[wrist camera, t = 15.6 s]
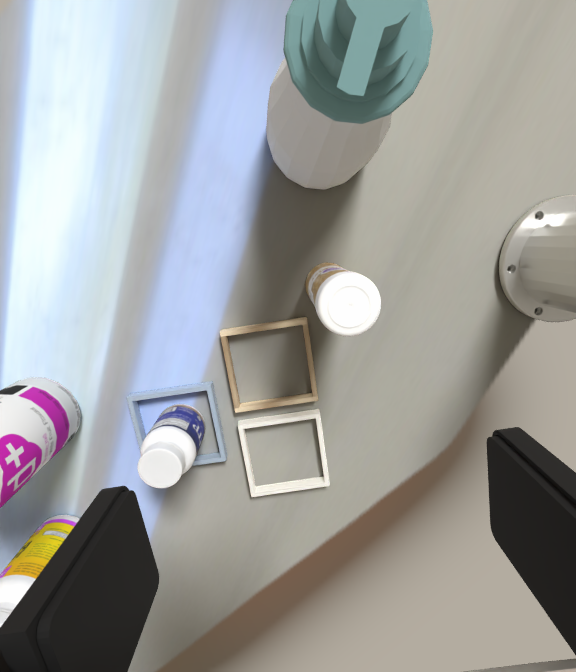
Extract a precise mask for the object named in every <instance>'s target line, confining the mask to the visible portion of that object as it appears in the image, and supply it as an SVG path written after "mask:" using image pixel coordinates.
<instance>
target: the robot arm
mask: <svg viewBox="0 0 576 672" xmlns="http://www.w3.org/2000/svg"><path fill="white" fill-rule="evenodd" d="M508 267H509V269H508ZM507 269H508V270H507ZM499 276H500V282H501V285H502V288H503V291H504V293H505V295H506V297H507V298H508V300H509V301H510V303H511V304H512V305H513V306H514V307H515V308H516V309H517V310H519V311H520V312H522V313H523V314H525V315H527V316H529V317H532V318H535V319H538V320H542V321H547V322H562V321H569V320H573V319H575V318H576V195H565V196H560V197H555V198H552V199H549V200H546V201H543V202H541V203H540V204H538V205H536V206H534V207H533V208H531V209H530V210H529V211H528V212H526V213H525V214H524V215H523V216H522V217H521V218H520V219H519V220H518V221H517V222H516V224H515V225H514V226H513V227H512V229H511V231H510V232H509V234H508V236H507V237H506V240H505V242H504V245H503V247H502V251H501V255H500V260H499ZM487 459H488V480H489V501H490V502H489V503H490V524H491V530H492V533H493V536H494V538H495V540H496V541H497V543H498V544H499V546H500V547H501V549H502V550H503V552H504V553H505V554H506V556H507V557H508V559H509V560H510V562H511V563H512V564H513V566H514V567H515V569H516V570H517V572H518V573H519V574H520V576H521V577H522V579H523V580H524V582H525V583H526V585H527V586H528V587H529V589H530V590H531V592H532V593H533V594H534V596H535V597H536V599H537V600H538V602H539V603H540V605H541V606H542V607H543V608H544V610H545V611H546V613H547V614H548V616H549V617H550V619H551V620H552V622H553V623H554V625H555V626H556V628H557V629H558V630H559V632H560V633H561V635H562V636H563V637H564V639H565V640H566V642H567V643H568V645H569V646H570V647H571V649H572V650H573V652H574V653H575V655H576V473H575V472H574V471H573V470H572V469H570V468H569V467H568V466H567V465H565V464H564V463H563V462H562V461H561V460H559V459H558V458H557V457H556V456H554V455H553V454H552V453H551V452H549V451H548V450H547V449H546V448H544V447H543V446H542V445H541V444H539V443H538V442H537V441H535V440H534V439H533V438H532V437H531V436H529V435H528V434H527V433H526V432H525V431H523V430H522V429H521V428H519V427H515V428H508V429H501V430H495V431H494V432H493V436H492V437H489V438H488V439H487ZM158 584H159V573H158V569H157V566H156V562H155V559H154V555H153V552H152V549H151V545H150V542H149V538H148V535H147V531H146V528H145V525H144V521H143V518H142V514H141V511H140V508H139V504H138V501H137V497H136V494H135V492H134V491H132V490H131V491H129V489H128V488H127V487H126V486H120V487H113V488H106V489H102V490H101V491H100V492H99V494H98V495H97V496H96V498H95V499H94V500H93V502H92V503H91V505H90V506H89V507H88V509H87V510H86V511H85V513H84V514H83V515H82V517H81V518H80V520H79V521H78V522H77V524H76V525H75V526H74V528H73V529H72V530H71V532H70V533H69V535H68V536H67V537H66V539H65V540H64V541H63V543H62V544H61V545H60V547H59V548H58V550H57V551H56V552H55V554H54V555H53V556H52V558H51V559H50V560H49V562H48V563H47V565H46V566H45V567H44V569H43V570H42V571H41V573H40V574H39V575H38V577H37V578H36V580H35V581H34V582H33V584H32V585H31V586H30V588H29V589H28V590H27V592H26V593H25V595H24V596H23V597H22V599H21V600H20V601H19V603H18V604H17V605H16V607H15V608H14V610H13V611H12V612H11V614H10V615H9V616H8V618H7V619H6V620H5V622H4V623H3V625H2V626H1V627H0V672H127V671H128V669H129V666H130V663H131V660H132V658H133V655H134V652H135V649H136V647H137V644H138V641H139V638H140V636H141V633H142V630H143V627H144V625H145V622H146V619H147V616H148V614H149V611H150V608H151V605H152V603H153V600H154V597H155V595H156V592H157V589H158ZM465 672H576V659H568V660H559V661H548V662H539V663H530V664H522V665H515V666H506V667H498V668H490V669H481V670H473V671H465Z"/></svg>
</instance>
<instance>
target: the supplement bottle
mask: <svg viewBox="0 0 576 672" xmlns="http://www.w3.org/2000/svg"><path fill="white" fill-rule="evenodd" d="M79 520H80V519H79V518H77V517H74V516H70V515H58V516H54V517H51V518H49V519H47V520H46V521H45V522H43V523H42V524H41V525H40V527H39V528H38V529H37V530H36V531H35V532H34V534H33V535H32V536H31V537H30V539H29V540H28V541H27V542H26V543H25V545H24V546H23V547H22V548H21V550H20V551H19V552H18V553H17V554H16V556H15V557H14V558H13V559H12V561H11V562H10V563H9V564H8V566H7V567H6V568H5V569H4V570H3V572H2V573H1V574H0V627H1V626H2V625H3V623H4V622H5V620H6V619H7V618H8V616H9V615H10V614H11V612H12V611H13V610H14V608H15V607H16V605H17V604H18V603H19V601H20V600H21V599H22V597H23V596H24V595H25V593H26V592H27V590H28V589H29V588H30V586H31V585H32V584H33V582H34V581H35V580H36V578H37V577H38V575H39V574H40V573H41V571H42V570H43V569H44V567H45V566H46V565H47V563H48V562H49V560H50V559H51V558H52V556H53V555H54V554H55V552H56V551H57V550H58V548H59V547H60V545H61V544H62V543H63V541H64V540H65V539H66V537H67V536H68V535H69V533H70V532H71V530H72V529H73V528H74V526H75V525H76V524H77V522H78V521H79Z"/></svg>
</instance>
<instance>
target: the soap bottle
mask: <svg viewBox="0 0 576 672" xmlns="http://www.w3.org/2000/svg"><path fill="white" fill-rule="evenodd" d="M432 35H433V28H432V23H431V18H430V13H429V8H428V3H427V0H293V1H292V4H291V6H290V8H289V10H288V12H287V15H286V23H285V37H284V54H285V59H284V60H283V61H282V63H281V65H280V67H279V69H278V71H277V73H276V76H275V78H274V80H273V82H272V84H271V87H270V93H269V100H268V111H267V126H266V132H267V140H268V144H269V147H270V150H271V154H272V157H273V160H274V162H275V163H276V164H277V166H278V167H279V168H280V170H281V171H282V172H283V173H284V175H285V176H286V177H287V178H288V179H290V180H292V181H294V182H296V183H297V184H299V185H301V186H303V187H305V188H313V189H324V190H325V189H328V188H331V187H334V186H337V185H340V184H343V183H345V182H346V181H348V180H349V179H350V178H351V177H352V176H353V175H355V174H356V173H357V172H358V171H359V170H360V169H361V168H363V167H364V166H365V165H366V164H367V163H368V162H369V161H370V160H371V158H372V157H373V156H374V154H375V153H376V152H377V150H378V148H379V147H380V145H381V143H382V141H383V139H384V137H385V135H386V133H387V131H388V129H389V128H390V122H391V115H392V112H393V111H394V110H395V109H397V108H398V107H399V106H400V105H401V104H402V103H403V102H405V101H406V100H407V99H408V98H409V97H410V96H411V95H412V94H413V93H414V91H415V89H416V87H417V85H418V83H419V81H420V79H421V77H422V76H423V74H424V72H425V70H426V68H427V66H428V61H429V55H430V48H431V41H432Z"/></svg>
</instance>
